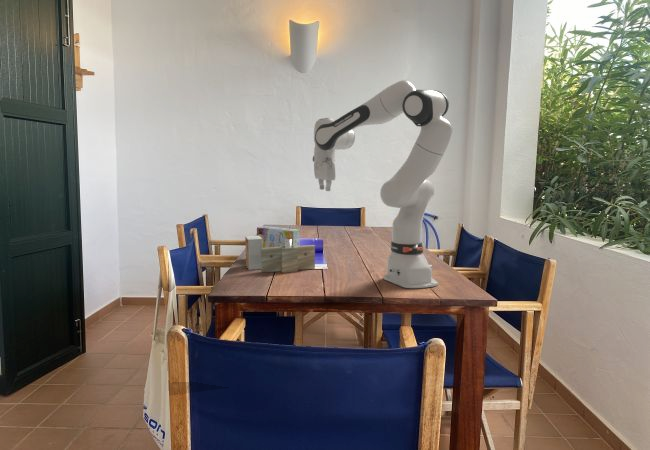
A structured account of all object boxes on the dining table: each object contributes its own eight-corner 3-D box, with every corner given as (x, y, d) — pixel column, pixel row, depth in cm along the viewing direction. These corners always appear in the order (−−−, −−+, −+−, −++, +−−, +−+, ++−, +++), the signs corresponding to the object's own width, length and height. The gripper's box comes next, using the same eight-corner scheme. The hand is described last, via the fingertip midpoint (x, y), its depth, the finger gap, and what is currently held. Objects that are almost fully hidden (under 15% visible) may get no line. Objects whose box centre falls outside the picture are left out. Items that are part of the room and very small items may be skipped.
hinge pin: (292, 270, 199) (292, 240, 197) (285, 271, 198) (285, 240, 196) (291, 269, 202) (290, 238, 200) (284, 269, 201) (284, 239, 199)
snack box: (300, 262, 214) (300, 229, 212) (293, 265, 210) (292, 230, 207) (264, 256, 226) (263, 225, 224) (256, 259, 221) (255, 226, 219)
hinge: (316, 270, 200) (316, 246, 198) (262, 273, 194) (262, 249, 192) (312, 266, 206) (312, 243, 204) (260, 270, 200) (260, 246, 198)
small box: (245, 265, 208) (245, 236, 206) (260, 264, 210) (259, 235, 208) (248, 270, 200) (247, 239, 198) (263, 269, 202) (262, 238, 200)
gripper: (339, 157, 194) (339, 191, 196) (325, 157, 213) (325, 188, 215) (324, 157, 192) (324, 192, 194) (311, 157, 212) (311, 188, 214)
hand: (324, 190), depth 205 cm, fingers open, 8 cm apart
